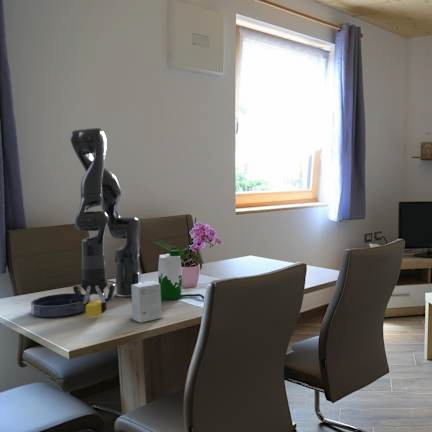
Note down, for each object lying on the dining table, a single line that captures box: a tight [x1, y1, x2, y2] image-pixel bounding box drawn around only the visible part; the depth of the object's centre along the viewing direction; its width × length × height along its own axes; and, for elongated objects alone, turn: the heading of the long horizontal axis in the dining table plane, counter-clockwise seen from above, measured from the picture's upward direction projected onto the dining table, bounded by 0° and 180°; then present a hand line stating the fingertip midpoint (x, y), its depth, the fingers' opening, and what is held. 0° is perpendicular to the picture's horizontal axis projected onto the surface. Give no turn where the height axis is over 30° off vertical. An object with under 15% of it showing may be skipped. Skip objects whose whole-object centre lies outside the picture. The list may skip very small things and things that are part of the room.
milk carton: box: [157, 249, 183, 301], centre depth 229 cm, size 9×9×20 cm
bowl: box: [30, 292, 91, 318], centre depth 208 cm, size 19×19×4 cm
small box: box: [131, 280, 163, 324], centre depth 199 cm, size 8×6×13 cm
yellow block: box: [85, 300, 103, 318], centre depth 199 cm, size 7×5×4 cm, turn 13°
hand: (95, 312), depth 199 cm, fingers closed on yellow block, 4 cm apart
